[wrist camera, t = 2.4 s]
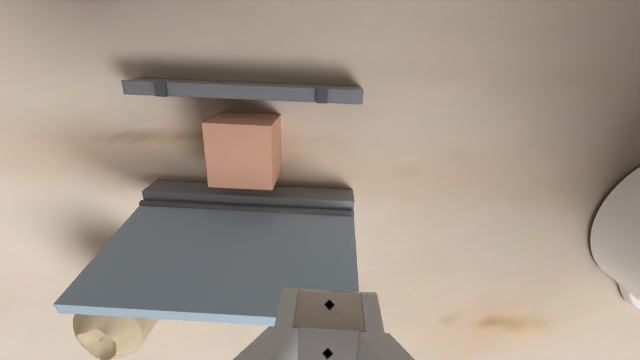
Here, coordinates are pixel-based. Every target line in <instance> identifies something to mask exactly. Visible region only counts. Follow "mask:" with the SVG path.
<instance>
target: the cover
mask: <svg viewBox="0 0 640 360" xmlns="http://www.w3.org/2000/svg"><path fill="white" fill-rule="evenodd" d="M139 205H140V206H139V207H138V208H137V209H136V210H135V212H134V213H133V214H132V215H131V216H130V217H129V218H128V220H127V221H126V222H125V223H124V224H123V225H122V226H121V228H120V229H119V230H118V231H117V232H116V233H115V234H114V236H113V237H112V238H111V239H110V240H109V241H108V242H107V244H106V245H105V246H104V247H103V248H102V249H101V250H100V252H99V253H98V254H97V255H96V256H95V257H94V258H93V260H92V261H91V262H90V263H89V264H88V265H87V266H86V267H85V269H84V270H83V271H82V272H81V273H80V274H79V275H78V277H77V278H76V279H75V280H74V281H73V282H72V283H71V285H70V286H69V287H68V288H67V289H66V290H65V291H64V293H63V294H62V295H61V296H60V297H59V298H58V299H57V301H56V302H55V303H54V304H53V305H54V306H55V308H56V310H57V311H58V313H68V314H85V315H102V316H118V317H135V318H152V319H169V320H186V321H202V322H219V323H236V324H253V325H270V326H274V325H275V320H276V316H277V311H278V306H279V301H280V297H281V292H282V289H283V287H286V288H298V289H299V288H302V289H315V290H328V291H347V292H359V286H358V271H357V257H356V242H355V227H354V211H349V210H329V209H309V208H289V207H269V206H249V205H229V204H209V203H189V202H170V201H150V200H141V201H140V203H139Z"/></svg>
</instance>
